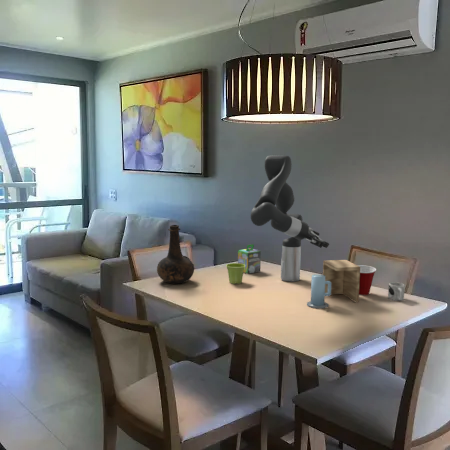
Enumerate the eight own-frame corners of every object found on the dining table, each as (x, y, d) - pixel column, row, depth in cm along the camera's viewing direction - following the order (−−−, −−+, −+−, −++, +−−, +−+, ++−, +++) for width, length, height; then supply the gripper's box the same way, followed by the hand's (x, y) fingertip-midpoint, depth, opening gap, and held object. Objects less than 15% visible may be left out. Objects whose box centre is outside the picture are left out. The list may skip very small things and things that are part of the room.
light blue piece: (313, 306, 204) (314, 277, 202) (308, 302, 209) (309, 274, 208) (332, 305, 205) (333, 277, 204) (327, 301, 211) (328, 273, 209)
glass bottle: (201, 282, 242) (201, 225, 238) (171, 288, 230) (171, 229, 226) (179, 275, 255) (179, 221, 251) (149, 281, 243) (149, 224, 239)
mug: (385, 296, 222) (386, 282, 221) (400, 296, 222) (401, 282, 221) (393, 303, 212) (394, 288, 211) (408, 303, 212) (409, 288, 211)
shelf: (334, 303, 211) (336, 267, 209) (322, 293, 225) (323, 260, 223) (358, 302, 213) (360, 266, 211) (344, 292, 227) (345, 259, 225)
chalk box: (250, 268, 273) (250, 242, 271) (261, 271, 266) (261, 244, 264) (236, 270, 268) (237, 243, 266) (247, 274, 260) (248, 246, 258)
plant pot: (238, 286, 236) (239, 268, 235) (222, 283, 241) (222, 265, 240) (248, 281, 244) (248, 264, 243) (232, 279, 249) (232, 262, 248)
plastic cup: (347, 294, 224) (348, 268, 222) (353, 289, 233) (354, 264, 232) (372, 298, 219) (373, 271, 217) (377, 292, 228) (378, 266, 227)
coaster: (308, 308, 203) (308, 307, 203) (305, 302, 212) (305, 300, 212) (330, 308, 203) (330, 307, 203) (326, 302, 212) (326, 300, 212)
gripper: (307, 228, 193) (336, 241, 201) (292, 212, 205) (319, 225, 213) (297, 244, 195) (326, 256, 203) (282, 227, 207) (310, 239, 215)
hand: (322, 240), depth 208 cm, fingers open, 8 cm apart
